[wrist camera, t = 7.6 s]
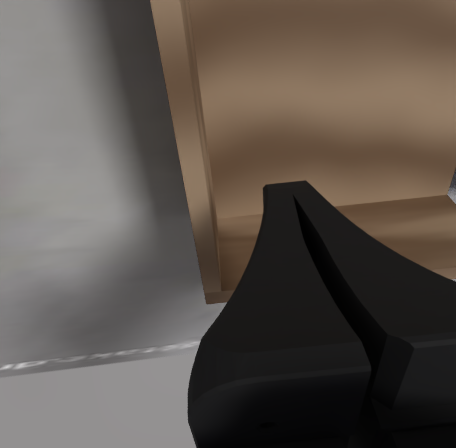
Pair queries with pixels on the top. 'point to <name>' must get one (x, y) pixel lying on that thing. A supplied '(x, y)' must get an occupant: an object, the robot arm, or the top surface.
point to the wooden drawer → (313, 119)
